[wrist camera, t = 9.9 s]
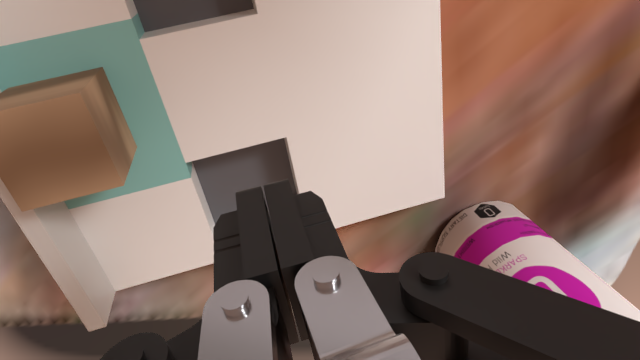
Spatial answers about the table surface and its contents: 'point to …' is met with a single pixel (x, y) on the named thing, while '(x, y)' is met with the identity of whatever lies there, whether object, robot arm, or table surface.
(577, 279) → the supplement can
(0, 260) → the table surface
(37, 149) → the walnut block
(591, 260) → the table surface
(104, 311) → the board
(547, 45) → the table surface
